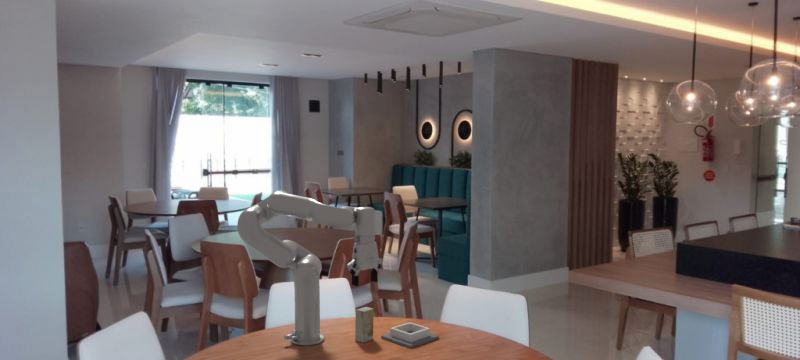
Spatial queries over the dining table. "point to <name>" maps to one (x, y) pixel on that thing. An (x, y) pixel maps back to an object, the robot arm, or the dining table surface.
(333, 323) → the dining table surface
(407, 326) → the holder board
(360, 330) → the skincare box
